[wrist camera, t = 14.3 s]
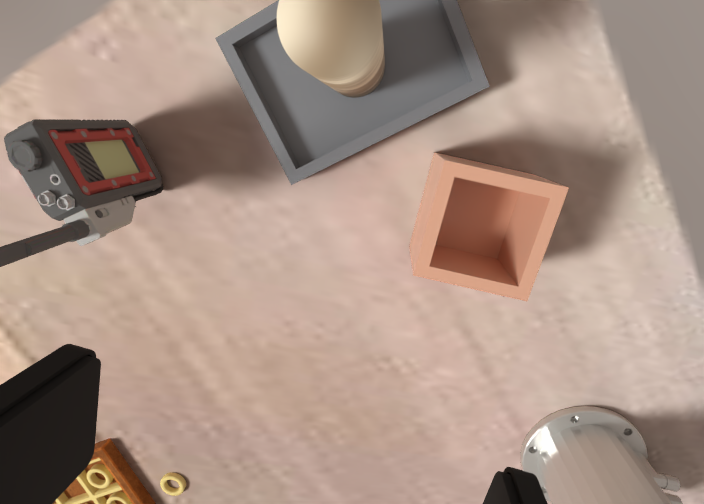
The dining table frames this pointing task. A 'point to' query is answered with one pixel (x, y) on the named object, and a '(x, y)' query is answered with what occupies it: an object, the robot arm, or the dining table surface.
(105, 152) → the walkie-talkie
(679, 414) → the dining table surface
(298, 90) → the charcoal tray
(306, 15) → the birch dowel
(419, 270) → the terracotta box
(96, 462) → the game set
